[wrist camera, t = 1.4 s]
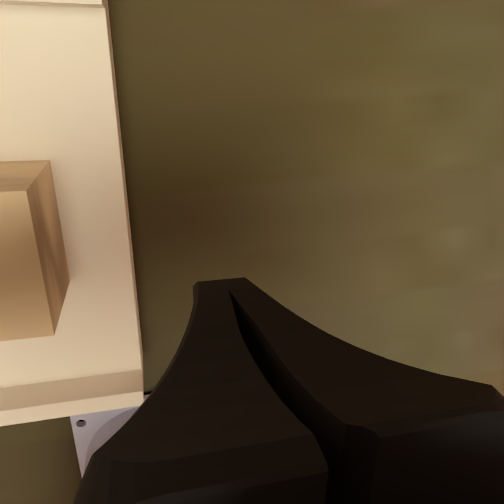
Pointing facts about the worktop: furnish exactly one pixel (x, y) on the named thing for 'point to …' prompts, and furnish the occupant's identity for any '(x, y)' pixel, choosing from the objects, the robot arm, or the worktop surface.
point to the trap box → (72, 210)
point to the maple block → (30, 251)
